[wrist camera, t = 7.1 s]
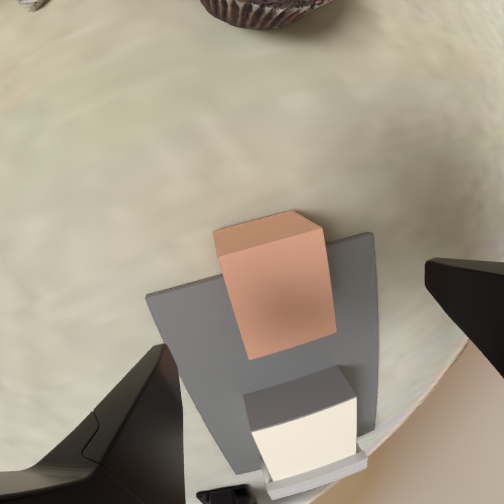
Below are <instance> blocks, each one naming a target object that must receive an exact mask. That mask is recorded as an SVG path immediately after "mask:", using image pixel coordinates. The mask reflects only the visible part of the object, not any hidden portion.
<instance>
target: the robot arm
mask: <svg viewBox="0 0 504 504" xmlns="http://www.w3.org/2000/svg"><path fill="white" fill-rule="evenodd" d="M425 286H426V288H427V290H428V291H429V292H430V293H431V295H432V296H433V297H434V298H435V300H436V301H437V302H438V303H439V305H440V306H441V307H442V308H443V310H444V311H445V312H446V314H447V315H448V316H449V317H450V318H451V319H452V320H453V321H454V323H455V324H456V325H457V326H458V327H459V328H460V329H461V330H462V331H463V332H464V333H465V334H466V335H467V337H468V338H469V339H470V340H471V341H472V342H473V343H474V344H475V345H476V346H477V348H478V349H479V350H480V351H481V352H482V353H483V354H484V356H485V357H486V358H487V359H488V360H489V361H490V363H491V364H492V365H493V366H494V367H495V368H496V370H497V371H498V372H499V373H500V375H501V376H502V377H503V378H504V263H503V262H490V261H476V260H462V259H448V258H432V259H430V260H428V261H426V263H425ZM93 411H94V412H93ZM93 411H92V412H91V413H90V414H89V415H88V416H87V417H86V418H85V419H84V420H83V421H82V422H81V423H80V424H79V425H78V426H77V427H76V428H75V429H74V430H73V431H72V432H71V433H70V434H69V435H68V436H67V437H66V438H65V439H64V440H63V441H61V442H60V443H59V444H58V445H57V446H56V447H55V448H54V449H53V450H51V451H50V452H49V453H48V454H47V455H46V456H45V457H44V458H42V459H41V460H40V461H39V462H38V463H37V464H35V465H34V466H32V467H30V468H28V469H25V470H21V471H10V472H0V504H186V501H185V482H184V453H183V407H182V399H181V391H180V382H179V374H178V367H177V364H176V362H175V360H174V358H173V356H172V354H171V351H170V349H169V347H168V346H167V344H165V343H164V344H159V345H155V346H153V347H152V348H151V349H150V350H149V351H148V352H147V353H146V354H145V355H144V356H143V358H142V359H141V360H140V361H139V362H138V363H137V364H136V365H135V366H134V367H133V368H132V369H131V370H130V371H129V372H128V373H127V374H126V376H125V377H124V378H123V379H122V380H121V381H120V382H119V383H118V384H117V385H116V386H115V387H114V388H113V389H112V390H111V391H110V393H109V394H108V395H107V396H106V397H105V398H104V399H103V400H102V401H101V402H100V403H99V404H98V405H97V406H96V408H95V409H94V410H93ZM196 497H197V498H198V499H199V500H200V501H201V502H202V503H203V504H258V502H257V500H256V498H255V497H254V495H253V494H252V492H251V491H250V489H249V488H248V486H246V485H242V486H237V487H232V488H227V489H221V490H215V491H208V492H201V493H197V494H196Z"/></svg>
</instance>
